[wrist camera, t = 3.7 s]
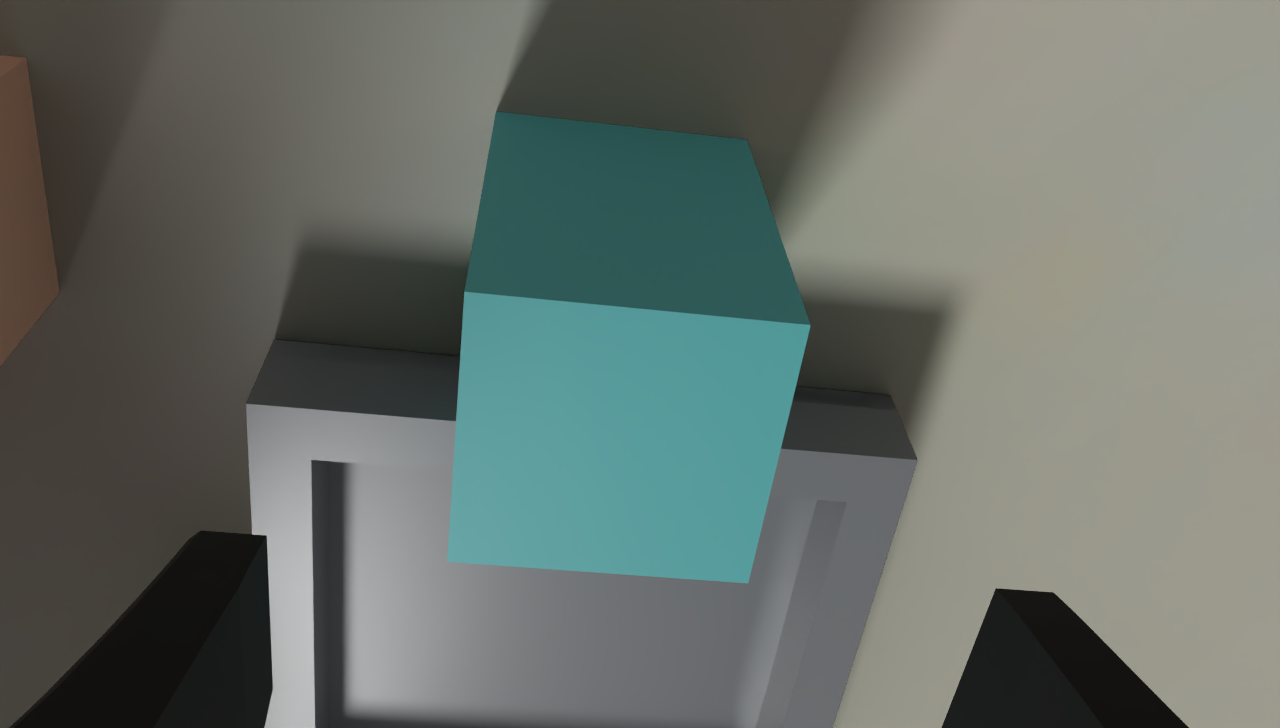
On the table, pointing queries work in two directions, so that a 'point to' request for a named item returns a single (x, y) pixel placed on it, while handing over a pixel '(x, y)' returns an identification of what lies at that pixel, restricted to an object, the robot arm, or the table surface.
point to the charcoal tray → (543, 571)
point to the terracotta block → (22, 212)
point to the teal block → (621, 354)
